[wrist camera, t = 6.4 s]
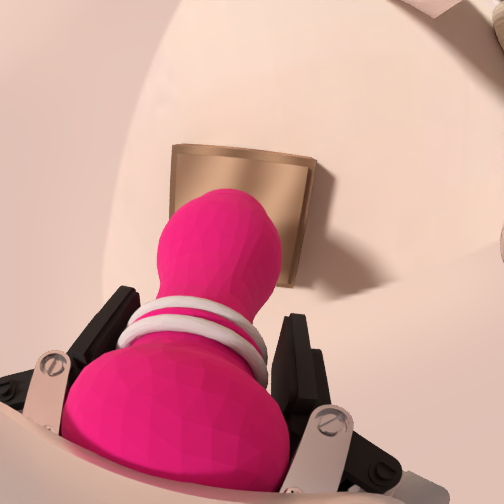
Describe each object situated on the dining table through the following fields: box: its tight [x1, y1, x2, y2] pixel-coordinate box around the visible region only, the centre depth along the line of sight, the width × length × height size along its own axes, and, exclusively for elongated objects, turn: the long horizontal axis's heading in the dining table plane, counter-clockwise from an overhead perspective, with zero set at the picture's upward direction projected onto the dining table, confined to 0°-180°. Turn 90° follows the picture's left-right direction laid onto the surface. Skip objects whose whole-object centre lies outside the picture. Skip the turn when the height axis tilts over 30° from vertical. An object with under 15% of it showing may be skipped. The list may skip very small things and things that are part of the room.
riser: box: [169, 144, 317, 288], centre depth 29 cm, size 14×14×4 cm
